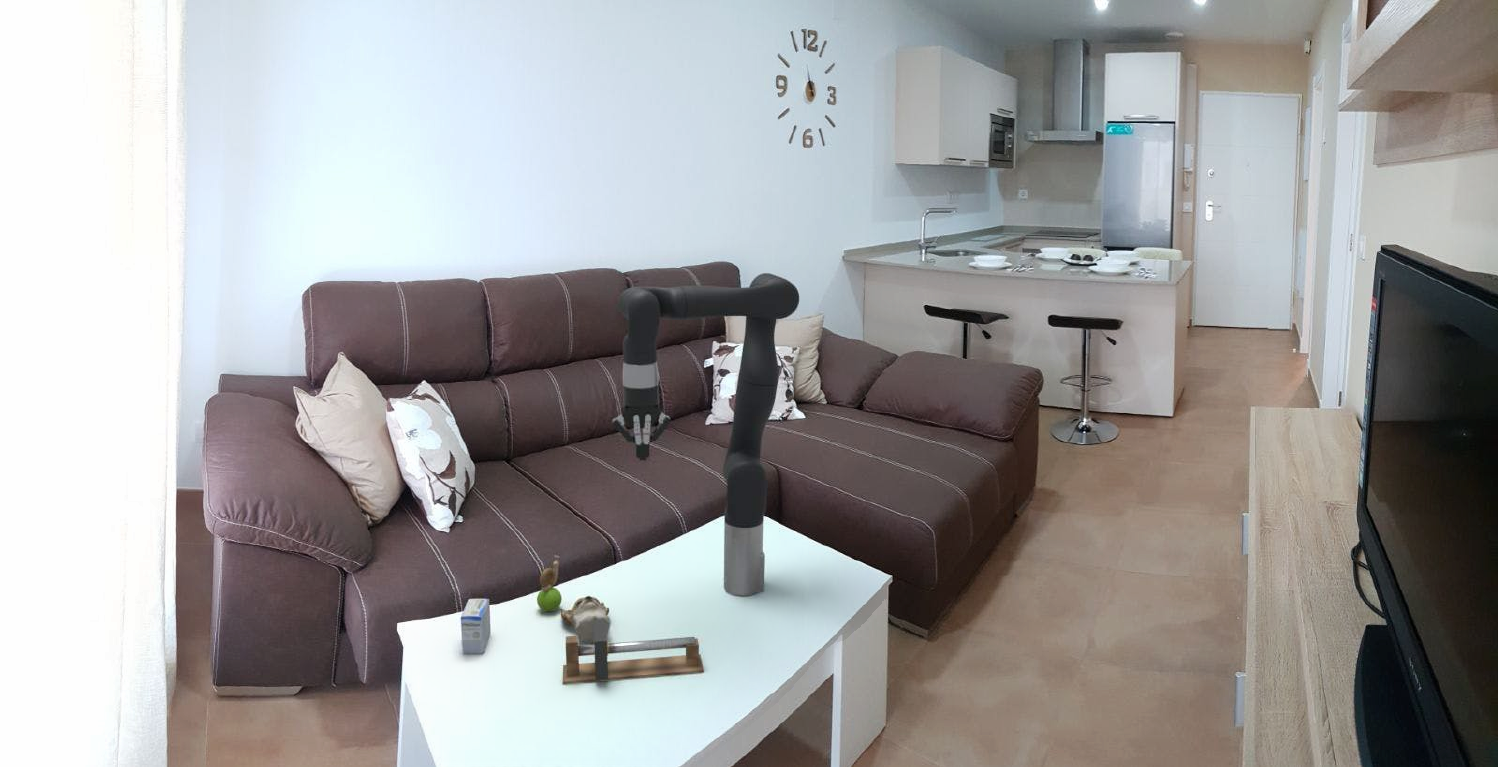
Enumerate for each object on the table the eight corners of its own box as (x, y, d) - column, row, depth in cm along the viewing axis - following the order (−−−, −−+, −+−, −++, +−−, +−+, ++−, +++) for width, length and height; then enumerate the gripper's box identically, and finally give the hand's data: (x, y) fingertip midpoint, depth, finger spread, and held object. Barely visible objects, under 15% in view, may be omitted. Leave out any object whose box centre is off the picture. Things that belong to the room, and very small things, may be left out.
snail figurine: (569, 605, 215) (567, 557, 212) (552, 618, 210) (550, 568, 206) (549, 600, 217) (547, 552, 214) (532, 612, 212) (530, 563, 209)
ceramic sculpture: (569, 613, 194) (557, 585, 208) (570, 652, 196) (558, 622, 210) (619, 605, 198) (604, 578, 212) (620, 643, 200) (605, 614, 213)
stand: (700, 656, 195) (700, 622, 193) (703, 672, 189) (704, 636, 187) (563, 667, 190) (561, 632, 188) (562, 684, 185) (561, 648, 182)
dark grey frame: (606, 656, 193) (605, 619, 190) (607, 679, 185) (606, 640, 182) (594, 657, 192) (593, 620, 190) (595, 680, 184) (594, 641, 182)
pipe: (694, 644, 192) (694, 632, 192) (695, 650, 190) (695, 639, 189) (569, 654, 188) (569, 642, 187) (569, 661, 185) (569, 649, 185)
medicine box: (470, 634, 202) (467, 598, 200) (491, 634, 203) (489, 597, 200) (462, 654, 195) (459, 616, 192) (484, 653, 195) (481, 616, 193)
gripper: (669, 376, 204) (671, 452, 208) (608, 379, 201) (611, 455, 206) (673, 385, 197) (674, 463, 201) (610, 388, 194) (612, 467, 199)
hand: (642, 459), depth 203 cm, fingers closed
